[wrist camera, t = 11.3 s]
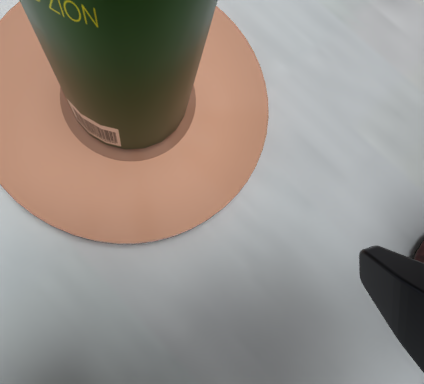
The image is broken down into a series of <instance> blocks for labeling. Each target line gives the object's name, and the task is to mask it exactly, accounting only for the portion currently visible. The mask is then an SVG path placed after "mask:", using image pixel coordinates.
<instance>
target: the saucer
mask: <svg viewBox="0 0 424 384" xmlns="http://www.w3.org/2000/svg"><path fill="white" fill-rule="evenodd" d="M267 125H268V97H267V91H266V84H265V81H264V77H263V74H262V70H261V67H260V65H259V63H258V60H257V58H256V56H255V53H254V51H253V50H252V48H251V46H250V45H249V43H248V41H247V40H246V38H245V36H244V35H243V34H242V33H241V31H240V30H239V29H238V27H237V26H236V25H235V24H234V22H233V21H232V20H231V19H230V18H229V17H228V16H227V15H226V14H225V13H224V12H223V11H222V10H220V9H219V8H218V7H217V6H216V7H215V11H214V14H213V18H212V21H211V25H210V28H209V32H208V35H207V39H206V42H205V46H204V49H203V53H202V56H201V60H200V63H199V67H198V70H197V74H196V77H195V81H194V84H193V88H192V91H191V95H190V98H189V102H188V105H187V109H186V112H185V116H184V118H183V119H182V121H181V122H180V124H179V126H178V127H177V129H176V130H175V131H174V132H173V133H172V134H171V135H169V136H168V137H167V138H166V139H165V140H163V141H162V142H160V143H157V144H155V145H152V146H149V147H147V148H142V149H127V150H125V149H121V148H117V147H112V146H108V145H106V144H104V143H102V142H100V141H99V140H97V139H95V138H93V137H92V136H90V135H89V134H88V133H87V132H86V131H85V129H84V128H83V127H82V126H81V125H80V124H79V123H78V122H77V120H76V118H75V116H74V114H73V112H72V109H71V107H70V105H69V103H68V101H67V99H66V97H65V95H64V93H63V91H62V88H61V86H60V84H59V82H58V80H57V78H56V76H55V74H54V72H53V70H52V67H51V65H50V63H49V61H48V59H47V57H46V55H45V53H44V51H43V49H42V46H41V44H40V42H39V40H38V38H37V36H36V34H35V32H34V30H33V28H32V25H31V23H30V21H29V19H28V17H27V15H26V13H25V11H24V9H23V7H22V4H21V2H18V3H17V4H16V5H15V6H14V7H13V8H11V9H10V10H9V11H8V12H7V13H6V14H5V16H4V17H3V18H2V19H1V20H0V184H1V186H2V187H3V188H4V189H5V190H6V191H7V192H8V193H9V194H10V195H11V196H12V197H13V198H14V199H15V200H16V201H17V202H18V203H19V204H20V205H21V206H23V207H24V208H25V209H27V210H28V211H29V212H30V213H32V214H33V215H34V216H36V217H38V218H40V219H41V220H43V221H45V222H46V223H48V224H50V225H51V226H54V227H56V228H58V229H61V230H63V231H65V232H68V233H70V234H73V235H75V236H79V237H82V238H86V239H90V240H93V241H99V242H106V243H113V244H139V243H147V242H155V241H158V240H162V239H166V238H170V237H173V236H176V235H178V234H181V233H183V232H186V231H188V230H190V229H192V228H194V227H196V226H198V225H199V224H201V223H203V222H205V221H206V220H208V219H209V218H211V217H212V216H213V215H215V214H216V213H217V212H219V211H220V210H221V209H223V208H224V207H225V206H226V205H227V204H228V203H229V202H230V201H231V200H232V199H233V198H234V197H235V196H236V195H237V194H238V193H239V191H240V190H241V189H242V187H243V186H244V185H245V183H246V182H247V181H248V179H249V177H250V176H251V174H252V172H253V170H254V169H255V167H256V165H257V162H258V160H259V157H260V155H261V152H262V150H263V146H264V142H265V138H266V134H267Z"/></svg>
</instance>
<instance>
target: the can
mask: <svg viewBox="0 0 424 384" xmlns="http://www.w3.org/2000/svg"><path fill="white" fill-rule="evenodd" d="M414 260H417V261H419V262H422V263H424V241H423V242H422V244H421V245H420V247H419V248H418V250H417V252H416V253H415V256H414Z"/></svg>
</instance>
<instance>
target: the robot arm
mask: <svg viewBox="0 0 424 384" xmlns="http://www.w3.org/2000/svg"><path fill="white" fill-rule="evenodd" d="M359 265H360V279H361V281H362V284H363V285H364V287H365V289H366V290H367V292H368V293H369V295H370V296H371V298H372V300H373V301H374V303H375V304H376V306H377V308H378V309H379V311H380V312H381V314H382V316H383V317H384V319H385V320H386V322H387V324H388V325H389V327H390V328H391V330H392V331H393V333H394V334H395V336H396V337H397V339H398V340H399V342H400V343H401V344H402V346H403V347H404V348H405V349H406V351H407V352H408V353H409V355H410V356H411V357H412V358H413V360H414V361H415V362H416V363H417V365H418V366H419V367H420V369H421V370H422V371H423V372H424V263H422V262H419V261H417V260H414V259H411V258H409V257H406V256H404V255H401V254H398V253H396V252H393V251H391V250H388V249H385V248H383V247H380V246H372V247H369V248H366V249H363V250H361V251H360V255H359Z"/></svg>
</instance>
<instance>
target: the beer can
mask: <svg viewBox="0 0 424 384" xmlns="http://www.w3.org/2000/svg"><path fill="white" fill-rule="evenodd" d="M20 2H21V4H22V7H23V9H24V11H25V13H26V15H27V17H28V19H29V21H30V23H31V25H32V28H33V30H34V32H35V34H36V36H37V38H38V40H39V42H40V44H41V46H42V49H43V51H44V53H45V55H46V57H47V59H48V61H49V63H50V65H51V67H52V70H53V72H54V74H55V76H56V78H57V80H58V82H59V84H60V86H61V88H62V91H63V93H64V95H65V97H66V99H67V101H68V103H69V105H70V107H71V109H72V112H73V114H74V116H75V118H76V120H77V122H78V123H79V124H80V125H81V126H82V127H83V128H84V129H85V131H86V132H87V133H88V134H89V135H90V136H92V137H93V138H95V139H97V140H99V141H100V142H102V143H104V144H106V145H108V146H112V147H117V148H121V149H125V150H127V149H142V148H147V147H149V146H152V145H155V144H157V143H160V142H162V141H163V140H165V139H166V138H167V137H168V136H169V135H171V134H172V133H173V132H174V131H175V130H176V129H177V127H178V126H179V124H180V122H181V121H182V119H183V118H184V116H185V112H186V109H187V105H188V102H189V98H190V95H191V91H192V88H193V84H194V81H195V77H196V74H197V70H198V67H199V63H200V60H201V56H202V53H203V49H204V46H205V42H206V39H207V35H208V32H209V28H210V25H211V21H212V18H213V14H214V11H215V7H216V4H217V0H20Z"/></svg>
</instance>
